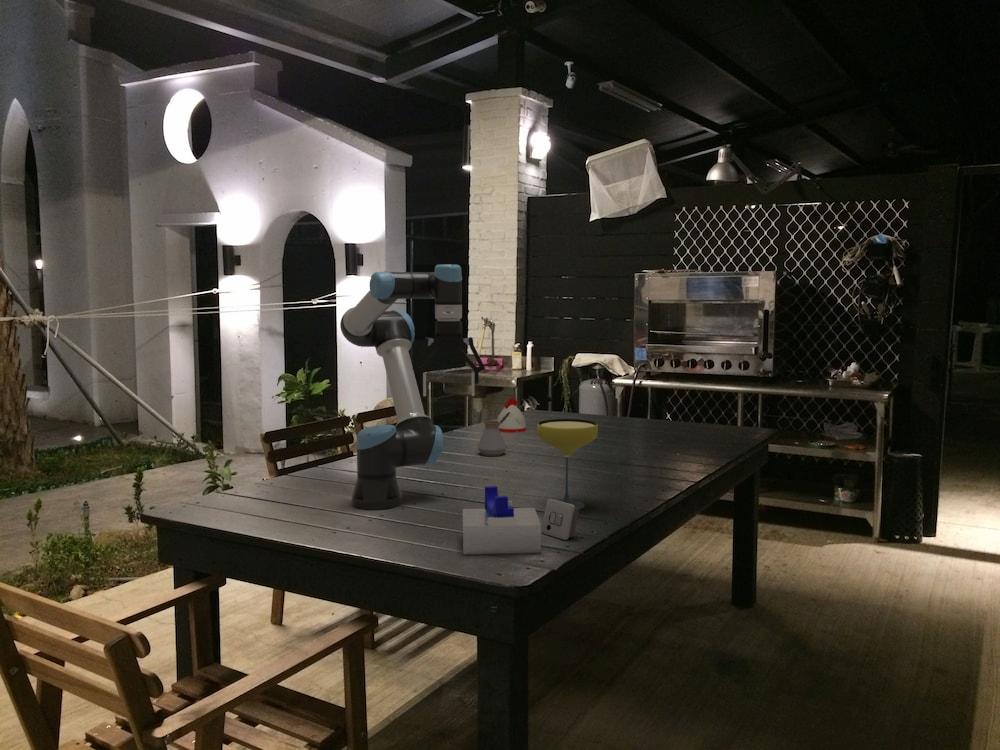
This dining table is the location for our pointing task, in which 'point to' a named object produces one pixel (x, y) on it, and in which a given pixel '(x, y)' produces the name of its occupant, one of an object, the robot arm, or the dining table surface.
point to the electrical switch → (559, 519)
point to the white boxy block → (501, 532)
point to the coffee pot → (492, 439)
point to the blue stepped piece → (497, 503)
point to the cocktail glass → (567, 440)
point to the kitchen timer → (512, 418)
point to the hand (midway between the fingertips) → (448, 395)
